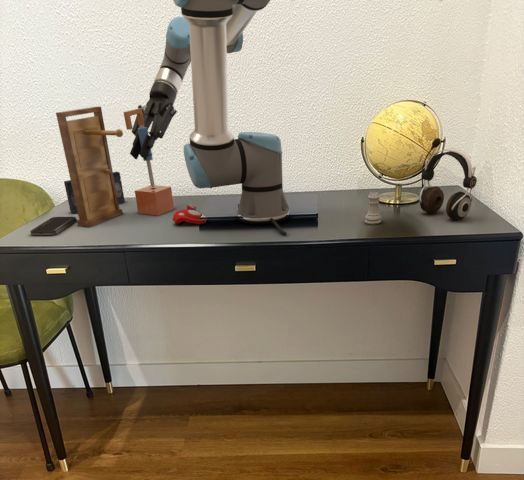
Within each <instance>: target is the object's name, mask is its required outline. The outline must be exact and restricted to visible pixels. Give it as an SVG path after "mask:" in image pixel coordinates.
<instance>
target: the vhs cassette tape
mask: <svg viewBox="0 0 524 480" xmlns="http://www.w3.org/2000/svg"><path fill="white" fill-rule="evenodd" d="M113 176H114V182H115V187H116V193H117V198H118V204H119V205H121V204H124V203H126V200H125V194H124V189H123V183H122V178H121V172H120V171H113ZM63 183H64V188H65V192H66V197H67V203H68V206H69V211H70V213H71V214H78V211H77V207H76V202H75V198H74V193H73V189H72V184H71V179H69V180H64V181H63Z"/></svg>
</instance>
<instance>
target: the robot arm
mask: <svg viewBox="0 0 524 480" xmlns="http://www.w3.org/2000/svg"><path fill="white" fill-rule="evenodd" d="M173 3H174V5H175V6H176V7H178V8H180V11H181V12H180V13H181V16H176V17H174V18H172V19H170V21H169V23H168V26H167V28H166V29H167V30H166V34H165V47H164V56H163V59H162V61H161V64H160V67H159V69H158V71H157V73H156V76H155V78H154V81H153V83H152V86H151V88H150V90H149V92H148V93H149V99H148V101H146V104H145V105H141V104H139V105H138V106H137V109H138V108H142V112H143V117H144V123H145V125H144V127H147V129H148V130H149V129H150V130H149V131H148V135H146V138H145V140H144V143H143V145H142V148H141V144H140V139H139V134H138V128H140V125H139V124H138V118H137V115H136V117H135V119H134V122H133V124H132V128H133V129H131V133H132V134H133V136H134V137H135V138H134V139H133V141H132V147H131V149H130V151H129V155H130V156H131V157H132V158H133V159H134V160H138V158H139V156H140V157H141V158H142V160H143V159H144V160H146V159H147V157H148V154H149V152H150V149H151V150H152V149H153V147H154V146H155V143H156V141H157V140H158V139H163V138H164V136H165V135H166V132H167V130H168V128H169V126H170V123H171V122H172V120H173V118H174V116H175V115H176V114H177V112H178V110H177V109H176V108H175V106H174V104H175V101H176V99H177V95H178V93H179V91H180V88H181V86H182V84H183V80H184V78H185V75H186V74H187V71H188V69H189V66H190V67H191V70H190V71H191V85H192V86H191V87H192V103H193V119H194V120H193V122H194V129H193V130H192V132H191V133H190V134H189V142H187V143H186V144H184V145H183V156H184V162H185V165H186V170H187V172H188V175H189V178H190V180H191V182H192V184H193V186H194V187H195V188H196V189H213V188H219V187H226V186H234V185H241V194H240V199H239V203H238V204H237V212H236V213H237V214H238V215H241V216H242V217H243V220H242V219H240V218H238V217H237V221H239V222H241V223H243V224H247V225H258V226H260V225H261V226H262V225H273V226H275V227H276V229H277V230H278V231H279V232H280V234H282V235H283V236H286V235H287V232H286V231H285V230H284V229H283V228H282V227H281V226H280V225H279V223H282V222H284V221H286V220H288V219H290V216H291V210H290V205H289V204H288V201H287V199H286V198H287V197H286V195H285V192H284V187H283V186H284V185H283V150H282V141H281V138H280V137H279V136H278V135H276V134H273V133H267V132H257V131H240V132H239V133H238V135H237V138H235V135H234V133H233V132H232V131H231V130H230V129H229V108H228V106H229V105H228V104H229V103H228V101H229V100H228V59H227V58H228V54H232V53H238V52H240V51H241V50H242V48H243V44H244V33H243V32H244V31H245V29H246V28H247V27H248V25H249V24H250V22H251V21H252V19H253V18H254V17H255V16H256V14H257V12H258V11H262V10H263V9H265V8H266V7H267V6H268V5H269V3H271V0H173ZM144 160H143V161H144ZM289 212H290V214H289V215H288V216H287V217H285V216H286V215H287V214H288V213H289Z"/></svg>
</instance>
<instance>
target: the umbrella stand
mask: <svg viewBox="0 0 524 480" xmlns="http://www.w3.org/2000/svg"><path fill="white" fill-rule="evenodd" d="M134 195H135V202H136V208H137V213H138V214H142V215H149V216H161V215H163V214H166V213H168V212H171V211H173V210H175V205H174V198H173V189H172V186H167V185H157V184H155V187H151V184H150V185H146V186H144V187H141V188H138V189H135V190H134Z"/></svg>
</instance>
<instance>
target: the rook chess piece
mask: <svg viewBox="0 0 524 480" xmlns="http://www.w3.org/2000/svg"><path fill="white" fill-rule="evenodd" d="M367 198H368V200H369V201H368V210H367V213H366V215H365V216H364V218H365V219H364V223H365V224H367V225H373V226H374V225H379V224H380V223H381V222H382V220H381V219H382V217H381V214H380V211H379V204H380V201H379V200H380V198H381V195H380V192H379V191H376V192H375V191H373V192H372V191H371V192H369V194H368V196H367Z"/></svg>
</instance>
